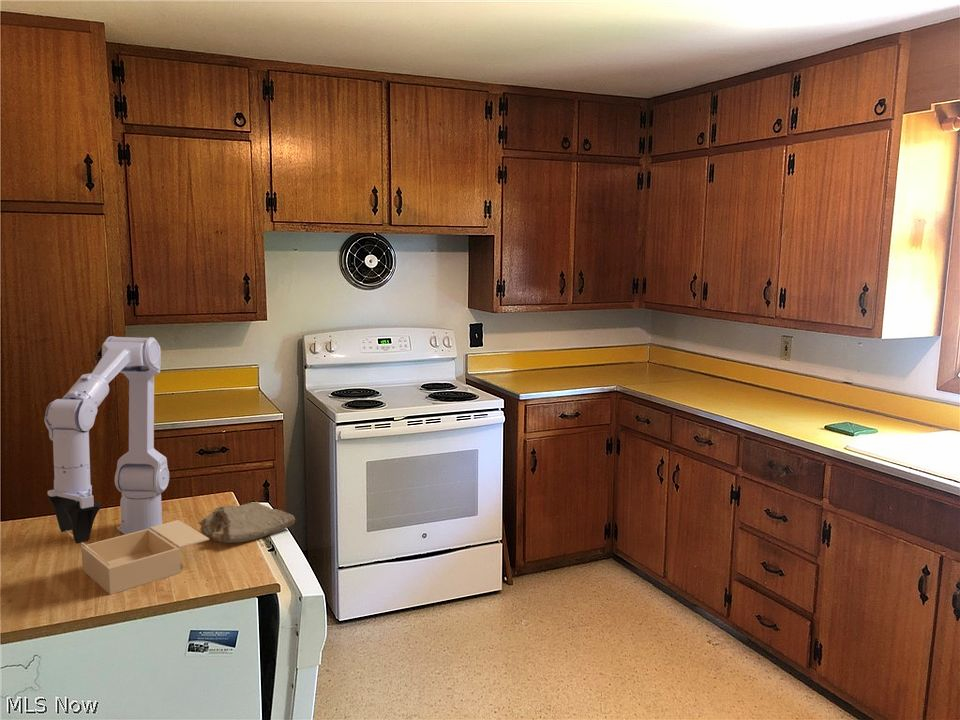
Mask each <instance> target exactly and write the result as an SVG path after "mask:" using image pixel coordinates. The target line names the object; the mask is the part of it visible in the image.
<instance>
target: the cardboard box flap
mask: <svg viewBox="0 0 960 720" xmlns="http://www.w3.org/2000/svg"><path fill="white" fill-rule="evenodd" d="M65 533H66V535H68V536H70V537H71V539H73V540H74V537H73V533H71V532H69V531H65ZM78 544H79V545H80V546H83V547H84V548H86V549H87V550H88V551H90V552H91V553H92V554H94V555H95V556H96V557H98V558H99V559H100V560H102V561H103V562H104V563H106V564H107V565H108V566H109V565H110V564H109V563H108V562H106V561H105V560H104V559H103V558H101V557H100V556H99V555H98V554H96V553H95V552H94V551H93V550H91V549H90V548H89V547H88V546H87V544H85V542H82V543H78Z"/></svg>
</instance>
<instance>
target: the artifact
mask: <svg viewBox="0 0 960 720" xmlns="http://www.w3.org/2000/svg"><path fill="white" fill-rule="evenodd" d="M295 522H296V518H295V516H294V515H293V514H291V513H288V512H286V511H283V510H281V509H277V508H276V509H275V508H271V507H270V506H268V505H264V504H261V503H260V502H259V501H254V502H249V503H245V504H241V505H223V506H222V505H221V506H219V507H216V508H215V509H214V511H213V512H211V513H210V514H208V515H207V516H206V517H204V518H203V519H202V520H200V521H198V524H199V525H200V531H201V532H202V534H203V535H204V536H206V537H208V538H209V539H212V540H213V541H216V542H222V543H225V544H228V543H229V544H233V543H243V542H249V540H250V541H253V540H257V539H260V538H264V537H267V536H270V535H272V534H275V533H277V532H280V531H282V530H285V529H287V528H290V527H291V526H293V525H294V524H295Z"/></svg>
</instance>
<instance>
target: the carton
mask: <svg viewBox="0 0 960 720" xmlns="http://www.w3.org/2000/svg"><path fill="white" fill-rule="evenodd" d="M151 529H152V530H151ZM154 531H155V532H154ZM157 533H158V534H157ZM206 541H210V538H209V537H207V536H205V535H204V533H201V532H199V531H198V530H196V529H195V528H193V527H191V526H189V525H188V524H186V523H184V522H183V521H181V520H180V519H176V520H173V521H169V522H166V523H162V524H161V525H157V526H153V527H150V528H149V529H145V530H141V531H137V532H134V533H130V534H126V535H125V534H123V535H122V534H121V535H119V536H114V537H110V538H105V539H103V540H99V541H96V542H95V541H94V542H92V543H87V544H86V545H87V546H88V547H89V548H90V549H91V550H93V551H94V552H95V553H96V554H98V555H99V556H100V557H101V558H103V559H104V560H105V561H106V562H108V563H109V564H110V565H109V566H108V565H107V564H106V563H104V562H103V561H102V560H100V559H99V558H98V557H96V556H95V555H94V554H92V553H91V552H90V551H88V550H87V549H86V548H84V547H83V546H82V545H80V549H81V564H82V571H83V572H84V573H85V574H86V575H88V577H90V578H91V579H92V580H93V581H94V582H95V583H97V584H98V585H99V586H100V587H101V588H102V589H103V590H104V591H105V592H107V593H108V595H110V596H111V595H114V594H117V593H120V592H124V591H127V590H130V589H133V588H137V587H139V586H143V585H146V584H149V583H152V582H156V581H158V580H162V579H165V578H168V577H173V576H174V575H179V574H181V573H182V569H181V568H182V566H181V565H182V564H181V549H182V548H186V547H189V546H192V545H197V544H199V543H202V542H206Z"/></svg>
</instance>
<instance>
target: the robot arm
mask: <svg viewBox="0 0 960 720" xmlns="http://www.w3.org/2000/svg"><path fill="white" fill-rule="evenodd" d="M161 350H162V349H161V345H160V344H159V343H158V341H157V339H156V338H155V337H153V336H152V337H151V336H150V337H134V336H133V337H132V336H131V337H130V336H129V337H128V336H126V337H125V336H114V335H112V336H111V335H110V336H108V337H107V338H106V339H105V340H104V341H103V343H102V345H101V358H100V359H99V361H98V363H97V364H96V365H95V367H94V369H93V370H92V372H90V373H85V374H82V375H81V376H80V377H79V378H78V379H77V380H76V381H75V383H74V384H73V385H72V386H71V387H70V389H69V390H68V391H67V392H66V393H65V395H63V397H62V398H57V399H55V400H53V401H51V402H50V403H49V404H48V405H47V406H46V409H45V416H44V424H45V426H46V429H47V430H48V437H49V439H50V441H52V446H53V447H52V448H53V449H52V451H53V452H52V453H53V472H54V473H53V474H54V477H53V478H54V479H53V488H52V489H49V490H47V495H46V498H47V500H48V501H49V503H50V505H51V506H52V508H53V511H54V514H55V518H56V521H57V525H58V527H59V530H60V532H61V533H64V532H65V531H68V532H69V531H72V535H73V537H74V539H73V540H74V543H75V544H79V543H82V542H83V543H86V542H89V540H90V538H91V533H92V529H93V524H94V523H95V522H94V521H95V518H96V517H97V514H98V513H99V511H100V509H101V503H100V502H98V501H97V502H94V495H93V494H92V493H93V492H92V491H93V485H92V483H91V461H90V460H91V458H90V457H91V456H90V429H91V428H93V426H94V424H95V420H96V416H97V414H98V411H99V410H98V407H100V405H101V404H102V402H103V401H104V400H105V398H106V397H107V396H108V394H109V393H110V386H109V383H110V382H112V380H113V379H115V377H116V376H117V375H119V373H120V374H123V375H124V376H125V377H126V379H127V380H128V451H127V452H126V453H124V454H123V455H122V456H120V457H119V459H118V460H117V463H116V464H117V466H116V470H115V474H114V485H115V488H116V490H117V491H118V492H121V498H120V501H119V502H120V503H119V506H120V507H119V508H120V524H121V525H120V526H117V527H116V529H117V531H119V532H120V533H122V534H123V535H126V534H130V533H134V532H137V531H141V530H145V529H149V528H150V527H153V526H157V525H161V524H163V515H162V514H163V509H162V493H163V492H165V490H166V489H167V487H168V485H169V481H170V471H169V467H168V457H166V456H165V455H163V454H162V453H160V452H159V451H158V450H157V449H155V444H154V443H155V376H156V375H159V374H160V373H161V367H162V366H161V365H162V363H161V362H162V360H161V356H162V355H161V353H162V351H161ZM151 530H152V529H151ZM154 532H155V531H154ZM65 533H66V532H65ZM157 534H158V533H157Z"/></svg>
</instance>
